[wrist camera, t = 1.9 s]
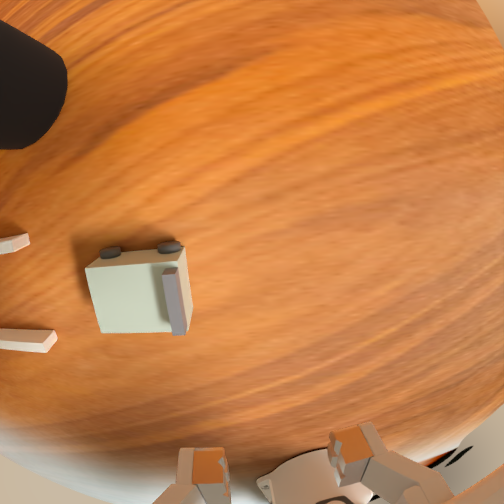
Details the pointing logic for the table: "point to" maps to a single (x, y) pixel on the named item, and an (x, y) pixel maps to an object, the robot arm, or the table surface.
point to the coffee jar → (28, 88)
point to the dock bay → (23, 337)
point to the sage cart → (141, 290)
